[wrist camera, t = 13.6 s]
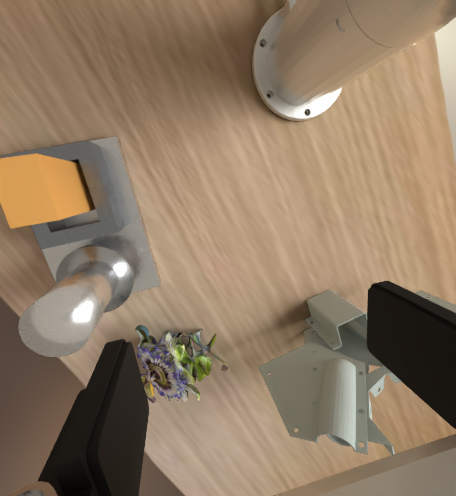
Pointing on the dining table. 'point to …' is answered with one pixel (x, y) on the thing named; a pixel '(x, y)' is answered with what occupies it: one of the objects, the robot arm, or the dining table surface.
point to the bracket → (332, 376)
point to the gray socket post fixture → (89, 252)
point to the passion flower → (173, 364)
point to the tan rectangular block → (42, 189)
